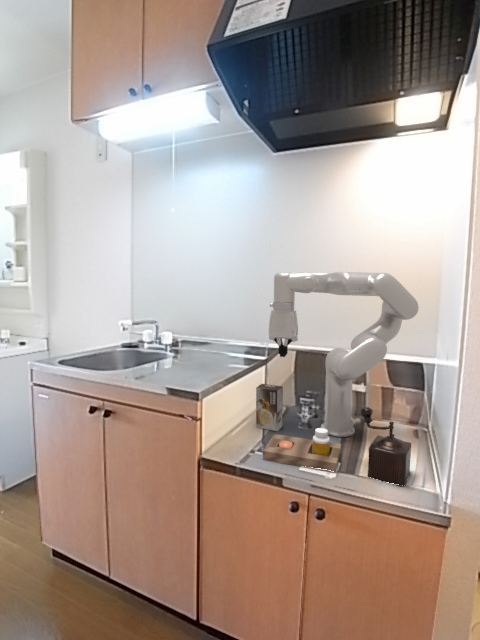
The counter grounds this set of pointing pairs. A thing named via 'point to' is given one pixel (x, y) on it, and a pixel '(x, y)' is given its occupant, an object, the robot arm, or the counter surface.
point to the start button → (285, 444)
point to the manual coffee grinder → (387, 454)
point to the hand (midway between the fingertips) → (283, 356)
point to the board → (301, 453)
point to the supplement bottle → (321, 442)
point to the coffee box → (269, 407)
